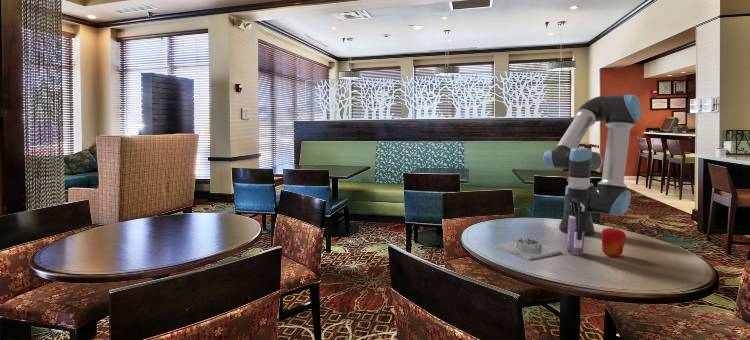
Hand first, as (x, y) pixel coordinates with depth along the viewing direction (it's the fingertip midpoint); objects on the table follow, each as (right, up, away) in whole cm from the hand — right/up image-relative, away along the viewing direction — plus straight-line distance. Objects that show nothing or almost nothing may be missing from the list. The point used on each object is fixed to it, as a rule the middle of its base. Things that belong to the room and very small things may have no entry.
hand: (575, 244), depth 164 cm
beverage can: (0, -4, 0) cm, 4 cm away
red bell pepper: (+13, -4, -2) cm, 14 cm away
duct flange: (-17, -3, +4) cm, 18 cm away
